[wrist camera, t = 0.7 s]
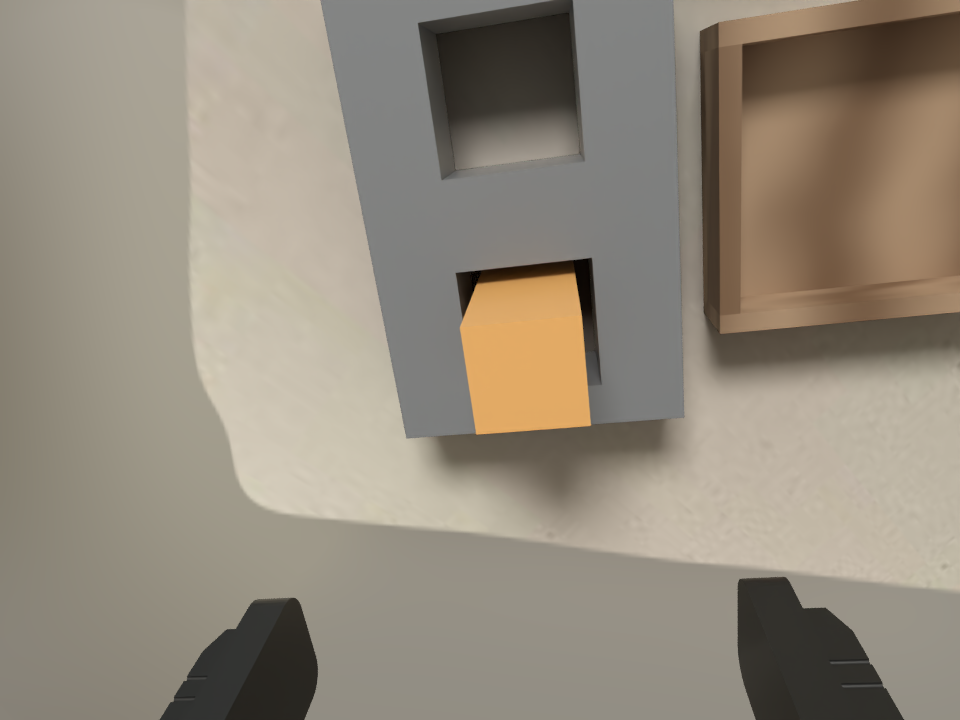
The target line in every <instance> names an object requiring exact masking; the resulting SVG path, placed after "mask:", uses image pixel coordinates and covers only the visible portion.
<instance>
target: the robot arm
mask: <svg viewBox="0 0 960 720" xmlns="http://www.w3.org/2000/svg"><path fill="white" fill-rule="evenodd" d="M738 656H739V663H740V669H741V673H742V678H743V682H744V686H745V689H746V692H747V695H748V698H749V701H750V704H751V707H752V710H753V713H754V716H755V719H756V720H904V719H903V717H902V715H901V714H900V712H899V710H898V708H897V707H896V705H895V703H894V702H893V700H892V698H891V696H890V695H889V693H888V691H887V689H886V688H884V687H883V685H882V681H881V679H880V677H879V676H878V674H877V672H876V670H875V669H874V667H873V665H870V663H869V658H868V657H867V655H866V653H865V651H864V650H863V648H862V646H861V644H860V643H859V641H858V639H857V637H856V636H855V634H854V632H853V631H852V630H851V629H850V628H849V627H848V626H846V625H845V624H844V623H843V622H842V621H840V620H839V619H838V618H837V617H836V616H835V615H833V614H832V613H831V612H830V611H829V610H828V609H826V608H805V609H803V608H802V606H801V604H800V602H799V600H798V598H797V596H796V594H795V592H794V590H793V588H792V586H791V584H790V582H789V581H788V579H787V578H786V577H770V578H747V579H740V580H739V582H738ZM317 677H318V666H317V659H316V655H315V652H314V648H313V645H312V642H311V638H310V635H309V631H308V628H307V625H306V621H305V618H304V615H303V611H302V608H301V605H300V603H299V601H298V600H297V599H296V598H277V599H258V600H255V601H253V603H251V605H250V606H249V608H248V609H247V611H246V613H245V614H244V616H243V618H242V619H241V621H240V623H239V625H238V626H237V628H236V629H227V630H226V631H224V632H223V633H222V634H221V635H220V636H219V637H218V638H217V639H216V640H215V641H214V642H212V643H211V644H210V645H209V646H208V647H207V648H206V649H205V650H204V651H203V652H202V653H201V655H200V657H199V658H198V660H197V662H196V663H195V665H194V666H193V668H192V669H191V671H190V672H189V674H188V676H187V681H184V682H183V684H182V685H181V687H180V688H179V690H178V691H177V693H176V695H175V696H174V702H171V703H170V704H169V706H168V707H167V709H166V711H165V712H164V714H163V715H162V717H161V719H160V720H304V719H305V717H306V714H307V712H308V709H309V707H310V704H311V702H312V699H313V696H314V693H315V690H316V685H317Z"/></svg>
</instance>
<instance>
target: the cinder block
mask: <svg viewBox="0 0 960 720" xmlns="http://www.w3.org/2000/svg"><path fill="white" fill-rule="evenodd" d="M321 5H322V10H323V15H324V21H325V26H326V31H327V36H328V41H329V46H330V51H331V56H332V61H333V66H334V71H335V77H336V82H337V87H338V92H339V97H340V102H341V107H342V112H343V117H344V122H345V127H346V133H347V138H348V143H349V148H350V153H351V158H352V163H353V168H354V173H355V178H356V183H357V189H358V194H359V199H360V204H361V209H362V214H363V219H364V224H365V229H366V234H367V239H368V245H369V250H370V255H371V260H372V265H373V270H374V275H375V280H376V285H377V290H378V295H379V301H380V306H381V311H382V316H383V321H384V326H385V331H386V336H387V341H388V346H389V351H390V357H391V362H392V367H393V372H394V377H395V382H396V387H397V392H398V397H399V402H400V407H401V413H402V418H403V423H404V428H405V433H406V438H419V437H433V436H446V435H459V434H472V433H476V429H475V423H474V416H473V410H472V403H471V397H470V390H469V384H468V377H467V371H466V364H465V358H464V351H463V345H462V338H461V332H460V326H461V323H462V321H463V318H464V316H465V313H466V310H467V308H468V305H469V303H470V300H471V298H472V295H473V290H472V283H471V276H470V271H477V270H486V269H495V268H504V267H513V266H522V265H531V264H540V263H549V262H558V261H567V260H576V259H585V258H588V264H589V277H590V290H591V303H592V316H593V329H594V342H595V351H591V352H585V360H586V372H587V384H588V396H589V408H590V420H591V424H605V423H618V422H631V421H644V420H657V419H671V418H684V390H683V352H682V314H681V276H680V238H679V200H678V162H677V124H676V86H675V48H674V11H673V0H321ZM563 13H569V17H570V30H571V43H572V56H573V69H574V82H575V95H576V108H577V121H578V134H579V147H580V154H576V155H569V156H561V157H554V158H546V159H539V160H531V161H524V162H516V163H509V164H501V165H494V166H486V167H479V168H471V169H464V170H456V171H455V164H454V157H453V150H452V143H451V136H450V129H449V122H448V115H447V108H446V101H445V94H444V87H443V80H442V73H441V66H440V59H439V52H438V45H437V38H436V34H440V33H446V32H453V31H459V30H465V29H471V28H477V27H483V26H489V25H495V24H501V23H508V22H514V21H520V20H526V19H532V18H538V17H544V16H550V15H557V14H563Z"/></svg>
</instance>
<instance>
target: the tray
mask: <svg viewBox="0 0 960 720" xmlns="http://www.w3.org/2000/svg"><path fill="white" fill-rule="evenodd" d="M700 60H701V134H702V207H703V281H704V313H705V315H706V316H707V317H708V319H709V320H710V321H711V323H712V324H713V325H714V327H715V328H716V329H717V331H718V332H719V333H720V334H726V333H737V332H747V331H758V330H769V329H780V328H791V327H802V326H813V325H823V324H834V323H845V322H856V321H867V320H878V319H888V318H899V317H910V316H921V315H932V314H943V313H954V312H960V0H858V1H852V2H846V3H839V4H833V5H827V6H820V7H814V8H807V9H801V10H795V11H788V12H782V13H775V14H769V15H763V16H756V17H750V18H743V19H737V20H731V21H724V22H718V23H716V24H714V25H712V26H710V27H708V28H706V29H704V30H702V31H700Z"/></svg>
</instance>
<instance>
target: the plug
mask: <svg viewBox="0 0 960 720" xmlns="http://www.w3.org/2000/svg"><path fill="white" fill-rule="evenodd" d="M460 332H461V338H462V345H463V351H464V358H465V364H466V371H467V377H468V384H469V390H470V397H471V403H472V410H473V416H474V423H475V429H476V435H478V434H491V433H504V432H518V431H531V430H544V429H557V428H570V427H584V426H591V420H590V408H589V396H588V384H587V372H586V360H585V348H584V336H583V324H582V314H581V308H580V301H579V295H578V289H577V283H576V277H575V271H574V265H573V260H567V261H558V262H549V263H540V264H531V265H522V266H513V267H504V268H495V269H486V270H482V272H481V275H480V277H479V280H478V282H477V285H476V287H475V290H474V293H473V295H472V298H471V300H470V303H469V305H468V308H467V310H466V313H465V316H464V318H463V321H462V323H461V326H460Z"/></svg>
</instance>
